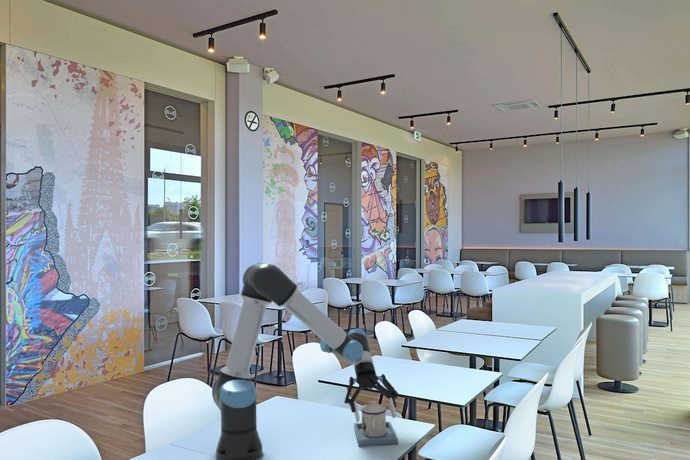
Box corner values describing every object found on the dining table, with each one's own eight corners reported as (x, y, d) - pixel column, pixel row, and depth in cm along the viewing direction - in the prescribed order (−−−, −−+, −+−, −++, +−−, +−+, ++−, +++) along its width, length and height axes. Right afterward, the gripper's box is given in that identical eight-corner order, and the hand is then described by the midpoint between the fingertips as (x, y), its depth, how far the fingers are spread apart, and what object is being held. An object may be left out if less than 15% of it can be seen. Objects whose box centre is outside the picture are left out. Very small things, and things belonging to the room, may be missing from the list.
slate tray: (358, 446, 177) (358, 440, 177) (354, 428, 194) (354, 423, 194) (397, 444, 178) (397, 438, 178) (390, 426, 195) (390, 421, 195)
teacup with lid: (361, 428, 192) (361, 397, 192) (386, 428, 192) (385, 396, 192) (360, 441, 180) (360, 407, 180) (387, 441, 180) (386, 407, 180)
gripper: (392, 368, 204) (406, 419, 190) (330, 373, 198) (340, 426, 184) (396, 358, 199) (411, 409, 185) (333, 363, 193) (344, 416, 178)
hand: (376, 418), depth 184 cm, fingers open, 13 cm apart
